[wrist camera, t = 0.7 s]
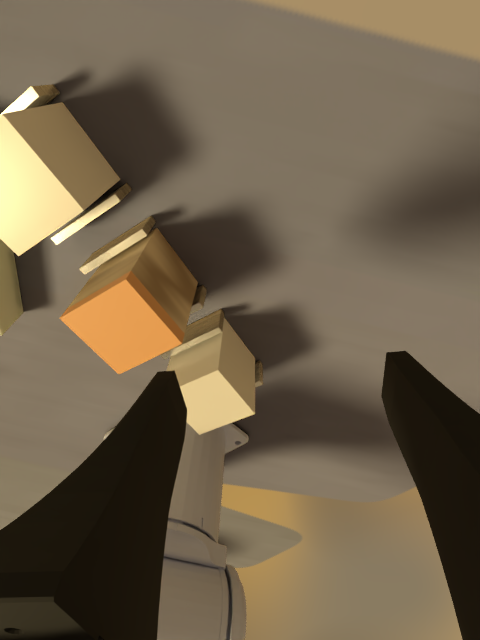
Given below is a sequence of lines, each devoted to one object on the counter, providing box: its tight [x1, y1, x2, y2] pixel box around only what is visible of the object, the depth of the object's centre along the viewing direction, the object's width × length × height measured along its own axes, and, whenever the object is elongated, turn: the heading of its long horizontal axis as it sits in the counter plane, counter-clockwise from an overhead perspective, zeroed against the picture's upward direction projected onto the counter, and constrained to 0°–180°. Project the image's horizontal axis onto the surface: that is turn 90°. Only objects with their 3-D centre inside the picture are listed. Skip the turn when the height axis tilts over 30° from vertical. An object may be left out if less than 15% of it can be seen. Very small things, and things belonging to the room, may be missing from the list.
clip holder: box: [0, 84, 263, 388], centre depth 21 cm, size 19×4×2 cm, turn 31°
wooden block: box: [60, 228, 198, 374], centre depth 19 cm, size 4×4×6 cm
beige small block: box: [167, 318, 255, 435], centre depth 23 cm, size 4×4×5 cm
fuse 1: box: [0, 102, 120, 256], centre depth 16 cm, size 4×4×5 cm
